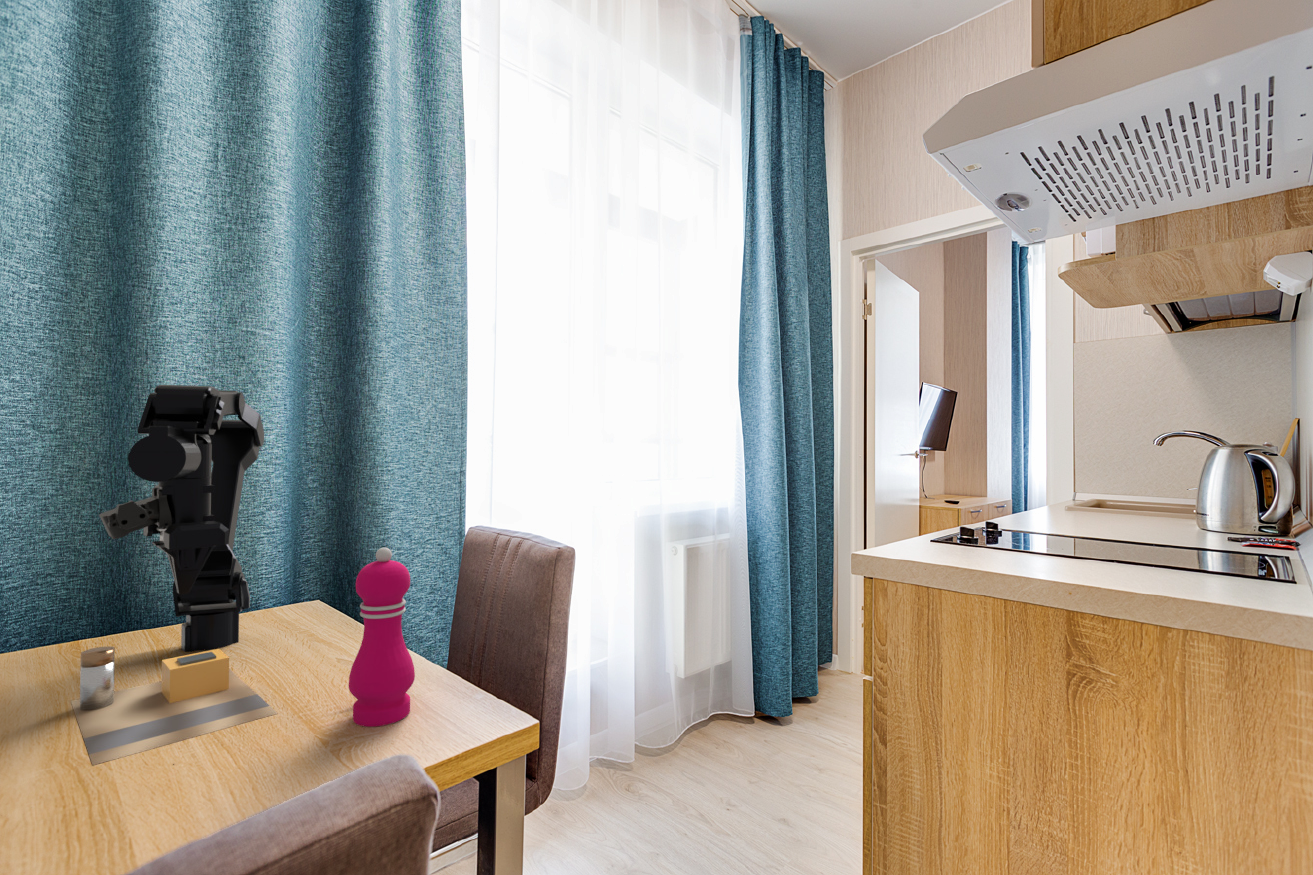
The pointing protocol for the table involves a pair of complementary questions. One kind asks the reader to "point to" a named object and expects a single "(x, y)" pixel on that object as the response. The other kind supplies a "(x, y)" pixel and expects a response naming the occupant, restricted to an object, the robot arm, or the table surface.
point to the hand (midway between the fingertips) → (183, 593)
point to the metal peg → (97, 678)
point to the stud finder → (195, 675)
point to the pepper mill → (382, 645)
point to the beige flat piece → (163, 718)
